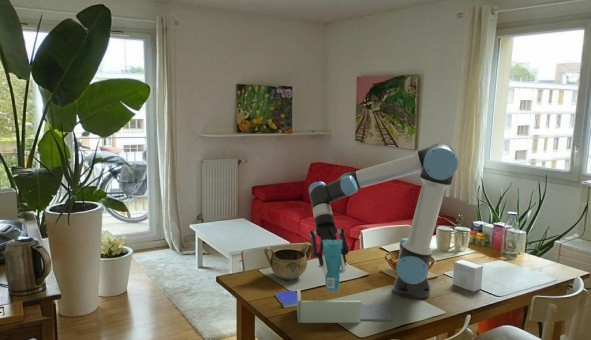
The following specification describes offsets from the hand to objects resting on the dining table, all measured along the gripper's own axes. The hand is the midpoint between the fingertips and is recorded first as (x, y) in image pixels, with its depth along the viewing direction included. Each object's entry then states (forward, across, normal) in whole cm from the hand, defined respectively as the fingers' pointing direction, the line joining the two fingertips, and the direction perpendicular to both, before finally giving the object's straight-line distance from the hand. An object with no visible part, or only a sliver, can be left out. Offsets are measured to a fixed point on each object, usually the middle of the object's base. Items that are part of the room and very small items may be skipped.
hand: (334, 272), depth 172 cm
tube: (+3, 0, -8) cm, 9 cm away
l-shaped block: (+11, +2, -15) cm, 18 cm away
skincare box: (0, -66, -27) cm, 71 cm away
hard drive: (0, +13, -26) cm, 30 cm away
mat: (+12, -16, -14) cm, 24 cm away
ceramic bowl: (-18, +9, -43) cm, 47 cm away
